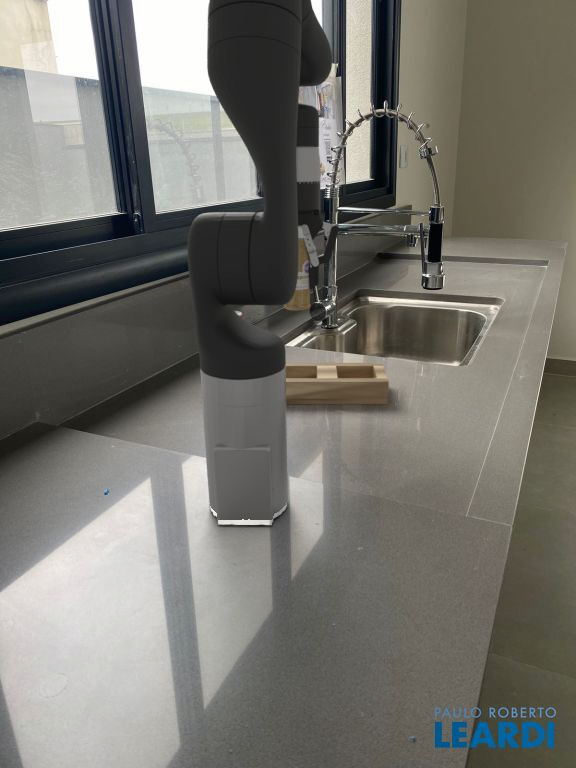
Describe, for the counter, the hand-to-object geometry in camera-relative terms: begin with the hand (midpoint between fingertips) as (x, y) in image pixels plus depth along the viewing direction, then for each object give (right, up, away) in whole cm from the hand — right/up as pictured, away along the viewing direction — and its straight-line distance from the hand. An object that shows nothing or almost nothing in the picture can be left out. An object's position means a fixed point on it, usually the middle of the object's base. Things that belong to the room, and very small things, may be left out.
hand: (297, 288), depth 99 cm
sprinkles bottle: (0, -3, +1) cm, 3 cm away
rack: (+5, -17, +6) cm, 19 cm away
